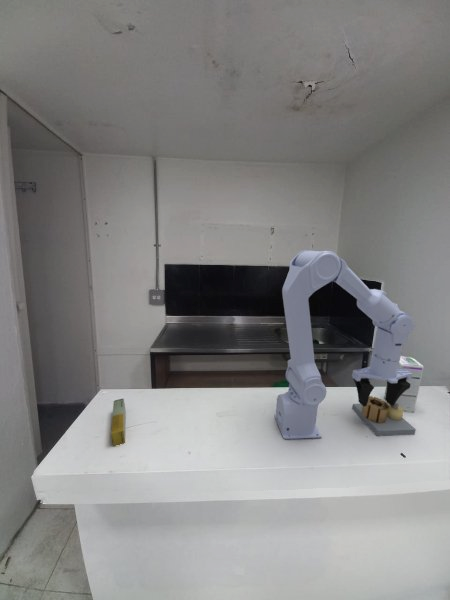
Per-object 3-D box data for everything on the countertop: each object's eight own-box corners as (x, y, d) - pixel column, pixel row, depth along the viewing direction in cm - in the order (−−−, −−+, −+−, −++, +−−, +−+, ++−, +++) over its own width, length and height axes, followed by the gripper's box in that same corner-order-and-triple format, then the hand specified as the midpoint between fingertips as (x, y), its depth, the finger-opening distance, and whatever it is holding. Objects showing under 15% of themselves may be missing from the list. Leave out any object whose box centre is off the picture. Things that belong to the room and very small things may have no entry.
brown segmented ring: (370, 423, 59) (373, 410, 58) (357, 409, 64) (359, 396, 63) (390, 423, 59) (393, 409, 59) (375, 408, 65) (378, 396, 64)
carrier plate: (376, 436, 57) (380, 418, 56) (352, 408, 67) (354, 393, 66) (414, 434, 58) (418, 417, 57) (384, 407, 68) (387, 392, 66)
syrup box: (414, 412, 66) (426, 366, 62) (391, 409, 67) (401, 363, 64) (404, 400, 71) (414, 356, 68) (382, 397, 72) (391, 354, 69)
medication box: (114, 412, 63) (113, 400, 62) (125, 410, 64) (124, 397, 63) (112, 448, 52) (110, 433, 51) (125, 444, 53) (124, 429, 52)
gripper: (369, 364, 53) (359, 415, 56) (427, 363, 55) (414, 413, 58) (350, 350, 60) (342, 396, 63) (402, 350, 61) (392, 395, 65)
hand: (375, 403), depth 61 cm, fingers open, 7 cm apart
